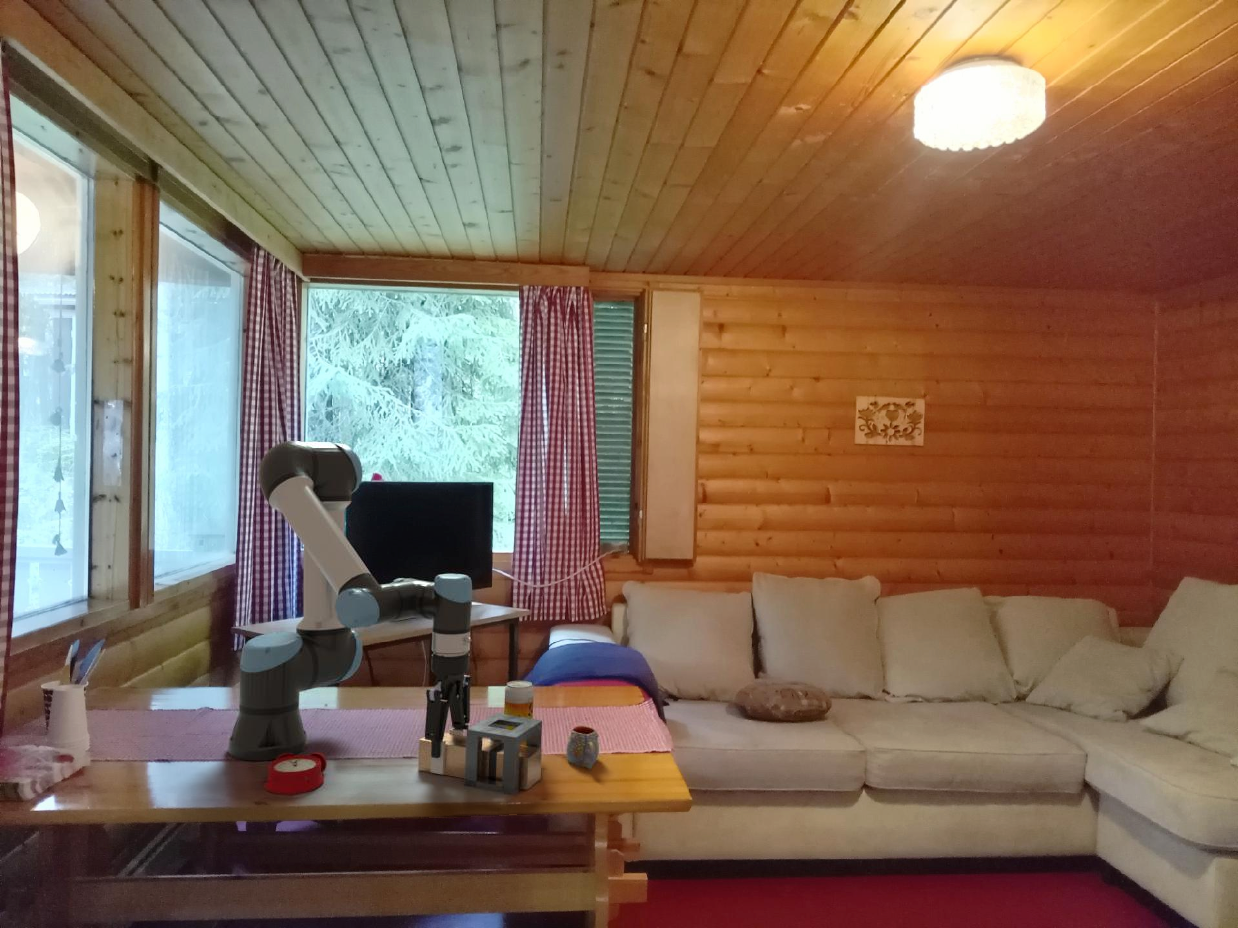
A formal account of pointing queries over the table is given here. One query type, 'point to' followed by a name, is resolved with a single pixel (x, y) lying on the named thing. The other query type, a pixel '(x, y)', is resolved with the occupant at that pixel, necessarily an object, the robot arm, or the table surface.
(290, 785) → the alarm clock
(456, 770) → the banded wooden beam
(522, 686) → the yellow can
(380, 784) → the table surface
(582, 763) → the mug
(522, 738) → the collar block
